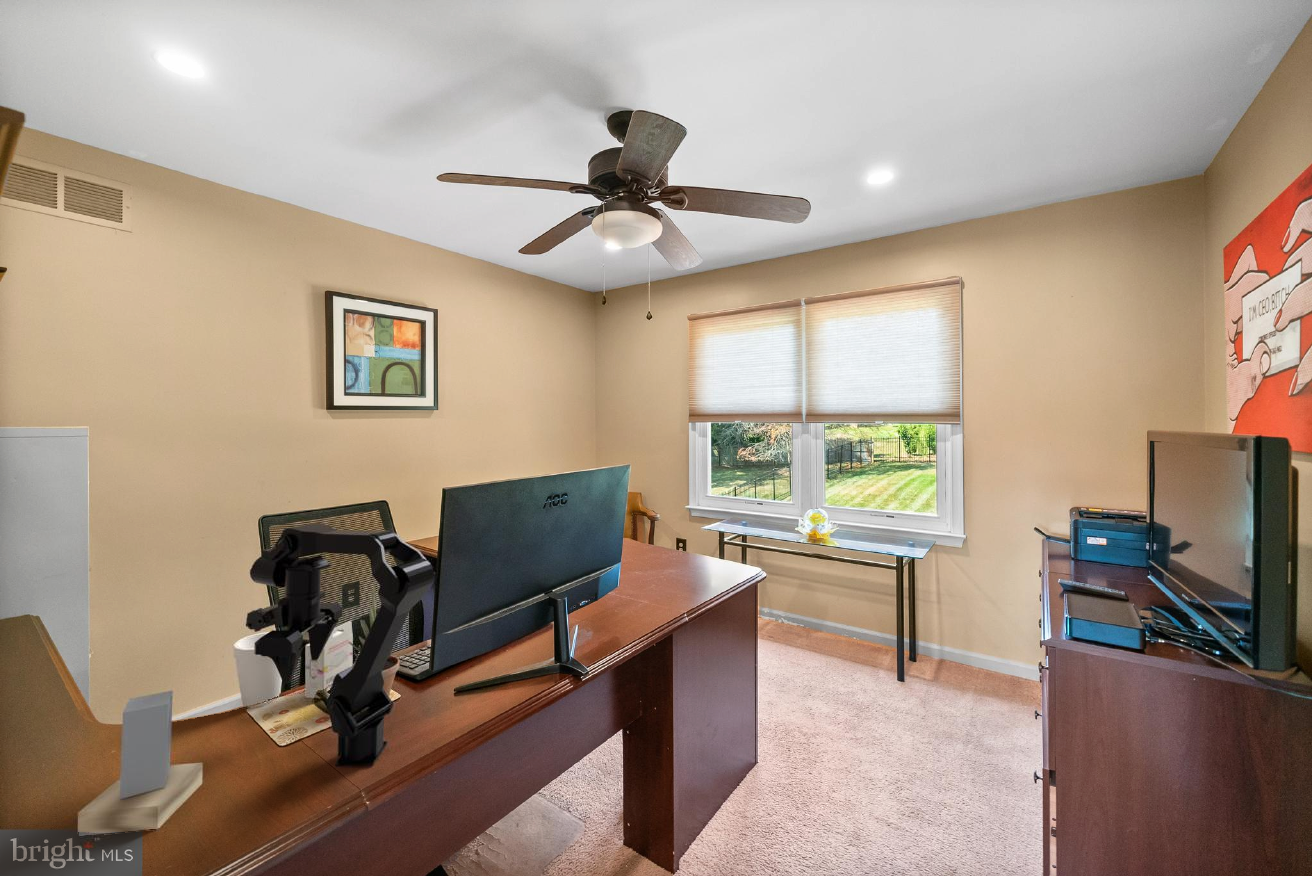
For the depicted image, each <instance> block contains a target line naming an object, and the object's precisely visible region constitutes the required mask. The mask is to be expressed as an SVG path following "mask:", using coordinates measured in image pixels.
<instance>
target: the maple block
mask: <svg viewBox="0 0 1312 876" xmlns="http://www.w3.org/2000/svg"><path fill="white" fill-rule="evenodd" d="M201 785H203V762H195V763H194V762H193V763H181V764H178V763H177V764H170V771H169V775H168V778H167V782H166V786H165V787H164V788H160V789H156V790H153V791H149V792H145V793H141V794H138V795H134V796H130V797H127V798H123V799H120V778H119V779H117V780H116V781H115V782H113V783H112V784H111V785H109V786H108V787H107V788H106V789H105V790H104V791H103V792H101V793H100V794H99V795H97V796H96V797H95V798H94V799H93V800H92V801H90V802H89V803H88V804H87V805H86V806H85V807H83V808H81V810H79V811H78V813H77V833H78V832H87V833H88V832H89V833H110V832H122V831H132V830H141V829H157V830H159V829H160V828H161V827H162V825H163V824H165V822H167V820H168V819H170V817H171V816H172V815H174V813H175V812H177V810H178V809H179V808H180V807H181V806H182V805H183V804H184V803H185V802H186V801H187V800H188V799H189V798H190V797H191V796H192V794H194V792H196V791H197V790H198V788H199V787H200V786H201ZM158 828H159V829H158Z"/></svg>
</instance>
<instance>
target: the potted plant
mask: <svg viewBox="0 0 1312 876" xmlns="http://www.w3.org/2000/svg"><path fill="white" fill-rule="evenodd" d="M371 593H372V594H371V603H372V604H371V603H369V612H368V613H369V624H370V627H371V626H372V624H373V622H374V620H375V617H376V615H377V610H376V597H375V585H373V586H372V592H371ZM366 623H367V622H366V621H365V620H364V619H360V625H361V629H362V631H363V634H364V637H365V638H366V637H367V635H368V633H369V631H370V628H369V627H368V625H367V624H366ZM358 639H359V641H360V642H361V645H363V644H364V642H365V640H366V639H364V638H362V636H358ZM349 643H350V644H351V645H352V646H353V649H355V650H356V651H358V652H359V653H360V651H361V648H360V647H358V646H357V645H355V644H354V643H353V644H352V643H351V642H349ZM393 652H394V650H393V649H392V650H391V652H390V654H389V657H388V659H387V661H386V663H385V665H384V667H383V670H382V675H383V678H384V685H383V689H384V690H385V692H386V693H387V695H388V696H389V697H390V694H391V691H392V687H393V683H394V680H395V677H396V673H397V672H398V671H399V669H400V658H399V657H397V656H395V655H392V654H393ZM359 653H355V652H354V653H353V654H354V656H355V657H356V658H357V657H358V655H359ZM354 664H355V662H354V663H352V666H354Z"/></svg>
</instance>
